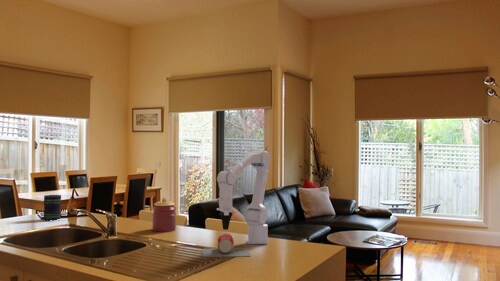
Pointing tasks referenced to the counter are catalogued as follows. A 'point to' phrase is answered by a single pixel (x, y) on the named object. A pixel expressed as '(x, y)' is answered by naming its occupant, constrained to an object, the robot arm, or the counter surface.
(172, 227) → the canister
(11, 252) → the counter surface
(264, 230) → the robot arm
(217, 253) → the mat
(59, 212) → the storage jar
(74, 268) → the counter surface
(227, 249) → the soda can
